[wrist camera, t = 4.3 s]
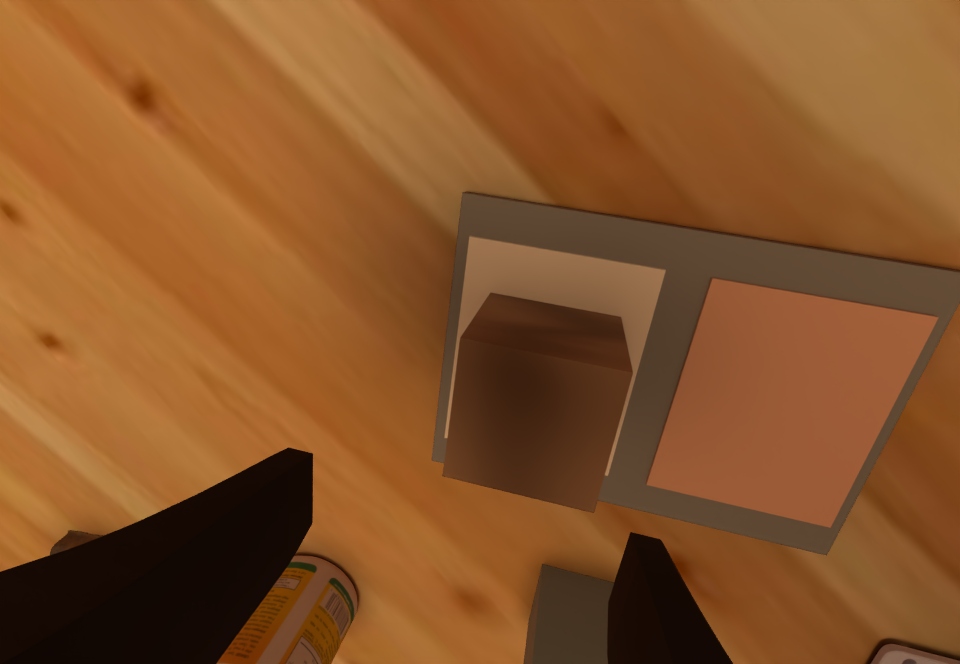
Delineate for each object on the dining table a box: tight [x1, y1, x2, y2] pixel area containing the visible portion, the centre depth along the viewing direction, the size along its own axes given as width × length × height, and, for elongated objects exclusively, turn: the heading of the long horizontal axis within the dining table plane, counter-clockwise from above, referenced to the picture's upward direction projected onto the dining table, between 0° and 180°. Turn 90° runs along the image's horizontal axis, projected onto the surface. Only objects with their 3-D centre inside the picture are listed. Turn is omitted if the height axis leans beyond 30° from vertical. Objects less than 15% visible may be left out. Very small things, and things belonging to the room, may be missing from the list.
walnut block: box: [443, 292, 633, 513], centre depth 17 cm, size 5×5×5 cm
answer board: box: [432, 192, 960, 555], centre depth 19 cm, size 17×12×1 cm
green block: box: [524, 564, 614, 664], centre depth 22 cm, size 4×4×6 cm
